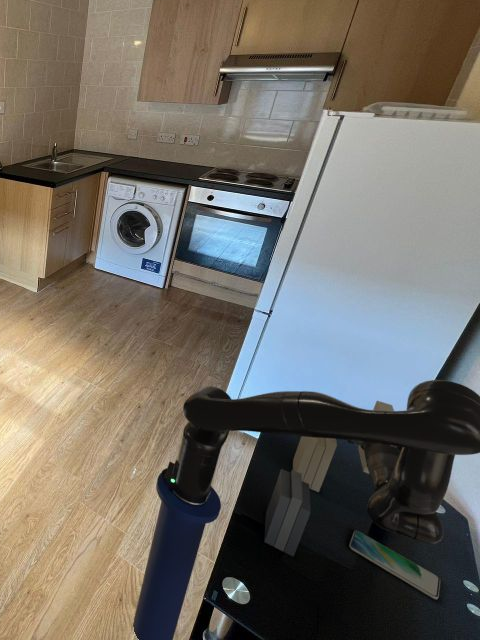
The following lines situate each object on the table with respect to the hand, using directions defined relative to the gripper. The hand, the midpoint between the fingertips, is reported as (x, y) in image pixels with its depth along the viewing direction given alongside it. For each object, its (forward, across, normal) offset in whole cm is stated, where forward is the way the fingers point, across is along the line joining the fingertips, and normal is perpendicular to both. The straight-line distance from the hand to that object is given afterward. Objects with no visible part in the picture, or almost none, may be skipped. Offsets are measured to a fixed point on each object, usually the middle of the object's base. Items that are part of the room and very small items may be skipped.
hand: (377, 429), depth 109 cm
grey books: (-29, +16, +23) cm, 40 cm away
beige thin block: (-3, 0, +9) cm, 9 cm away
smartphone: (-21, -6, +23) cm, 31 cm away
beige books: (-1, +10, +22) cm, 25 cm away
